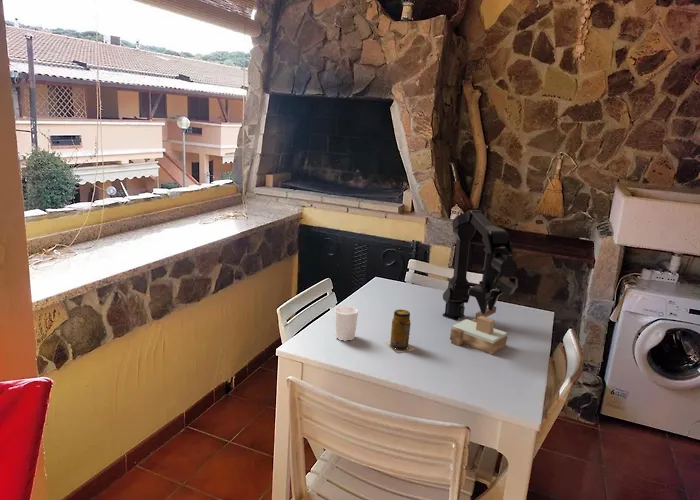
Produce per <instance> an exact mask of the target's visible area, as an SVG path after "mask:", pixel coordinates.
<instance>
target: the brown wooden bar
mask: <svg viewBox="0 0 700 500" xmlns="http://www.w3.org/2000/svg"><path fill="white" fill-rule="evenodd" d="M495 313H497V306H496V305H494V307H493V310H492V311H491V310H489V308H488V307H487V309H486V312H485V314H482V313H481V310H480V311H478V312H476V313H475V316H474V317H475V318H474V319H477V318H478V317H480V316H484V317H487V318H489V316H491V315H494V314H495Z"/></svg>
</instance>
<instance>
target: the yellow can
mask: <svg viewBox="0 0 700 500" xmlns="http://www.w3.org/2000/svg"><path fill="white" fill-rule="evenodd" d="M410 318H411V313H410V311H408V310H406V309H402V308H401V309H396V310H394V312H393V318H392V321H391V331H390V332H391V333H390V341H385V342H384V343H385V344H386V345H387V346H388V347H389V348H391V349H392V350H393V351H395V352H396V353H405V352H406V353H407V352H410V351H416V350H417V348H415V347H413V346H412V345H411V344H409V340H410V333H411V319H410ZM395 348H396V349H395Z"/></svg>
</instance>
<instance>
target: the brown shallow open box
mask: <svg viewBox="0 0 700 500" xmlns="http://www.w3.org/2000/svg"><path fill="white" fill-rule="evenodd" d="M471 321H474V322H477V319H475V318H473V319H471ZM463 331H464V330H461V329H458V328H454V329H452V327H451V329H450V334H449V340H450V344H452V345H455V346H457V347H459V346H461V345H465V346H467V347H469V348H472V349H474V350H477V351H479V352H483V353H485V354H488V355H491V356H493V355H494V354H495V353H497V352H499V351H500V350H502V349H504V348H505V347H507V339H508V335H507V336H505V337H503V338H502V339H500V340H498V341H496V342H495V343H490V342H487V341H484V340H482V339H479V338H476V337H473V336H471V335H468V334H465V333H463Z"/></svg>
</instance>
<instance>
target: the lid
mask: <svg viewBox="0 0 700 500" xmlns="http://www.w3.org/2000/svg"><path fill="white" fill-rule="evenodd" d="M495 322H496V320H495V319H493V318H489V317H484V316H480V317H478V318H477V322H474V321H472V319H468V318H465V319H463V320H461V321H459V322H457V323H455V324H453V325H451V328H452V329H454V328H458V329H461V330H464V331H463V333H465V334H468V335H471V336H473V337H476V338H479V339H482V340H484V341H487V342H490V343H495V342H496V341H498V340H500V339H502V338H503V337H505V336H507V337H508V332H506V331H504V330H500V329H497V328H495Z"/></svg>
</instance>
